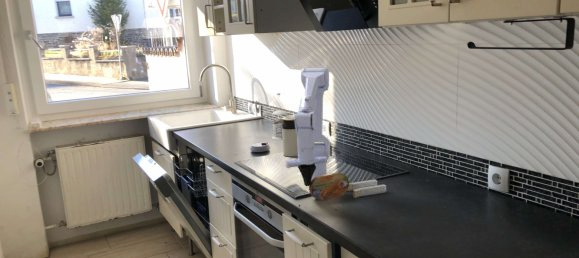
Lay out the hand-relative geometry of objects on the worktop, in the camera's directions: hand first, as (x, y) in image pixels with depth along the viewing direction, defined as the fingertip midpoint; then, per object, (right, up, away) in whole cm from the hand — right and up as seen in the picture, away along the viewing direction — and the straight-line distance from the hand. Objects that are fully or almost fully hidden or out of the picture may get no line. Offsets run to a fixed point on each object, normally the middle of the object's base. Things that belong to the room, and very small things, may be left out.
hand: (307, 185), depth 167 cm
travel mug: (-5, +7, +64) cm, 64 cm away
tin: (+8, -5, +4) cm, 10 cm away
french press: (-10, +15, +103) cm, 105 cm away
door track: (+21, -3, +8) cm, 23 cm away
